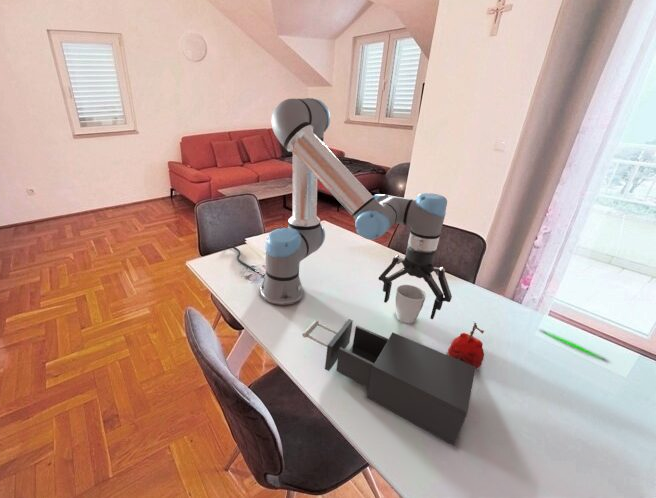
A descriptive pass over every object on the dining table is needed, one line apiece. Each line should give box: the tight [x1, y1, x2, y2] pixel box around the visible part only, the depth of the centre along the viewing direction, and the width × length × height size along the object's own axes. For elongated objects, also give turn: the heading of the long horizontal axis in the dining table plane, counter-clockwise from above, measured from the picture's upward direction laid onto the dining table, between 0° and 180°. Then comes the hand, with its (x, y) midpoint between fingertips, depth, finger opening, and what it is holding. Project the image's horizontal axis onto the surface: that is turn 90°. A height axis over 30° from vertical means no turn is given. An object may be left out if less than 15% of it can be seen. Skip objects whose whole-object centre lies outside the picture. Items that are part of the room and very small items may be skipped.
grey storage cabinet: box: [366, 332, 477, 447], centre depth 71 cm, size 18×14×10 cm
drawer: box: [302, 318, 389, 389], centre depth 81 cm, size 25×13×8 cm, turn 51°
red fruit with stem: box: [447, 322, 485, 371], centre depth 80 cm, size 8×7×15 cm
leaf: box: [544, 331, 606, 361], centre depth 89 cm, size 1×14×1 cm, turn 34°
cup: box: [395, 284, 427, 324], centre depth 98 cm, size 8×8×10 cm
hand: (408, 308), depth 98 cm, fingers open, 13 cm apart
